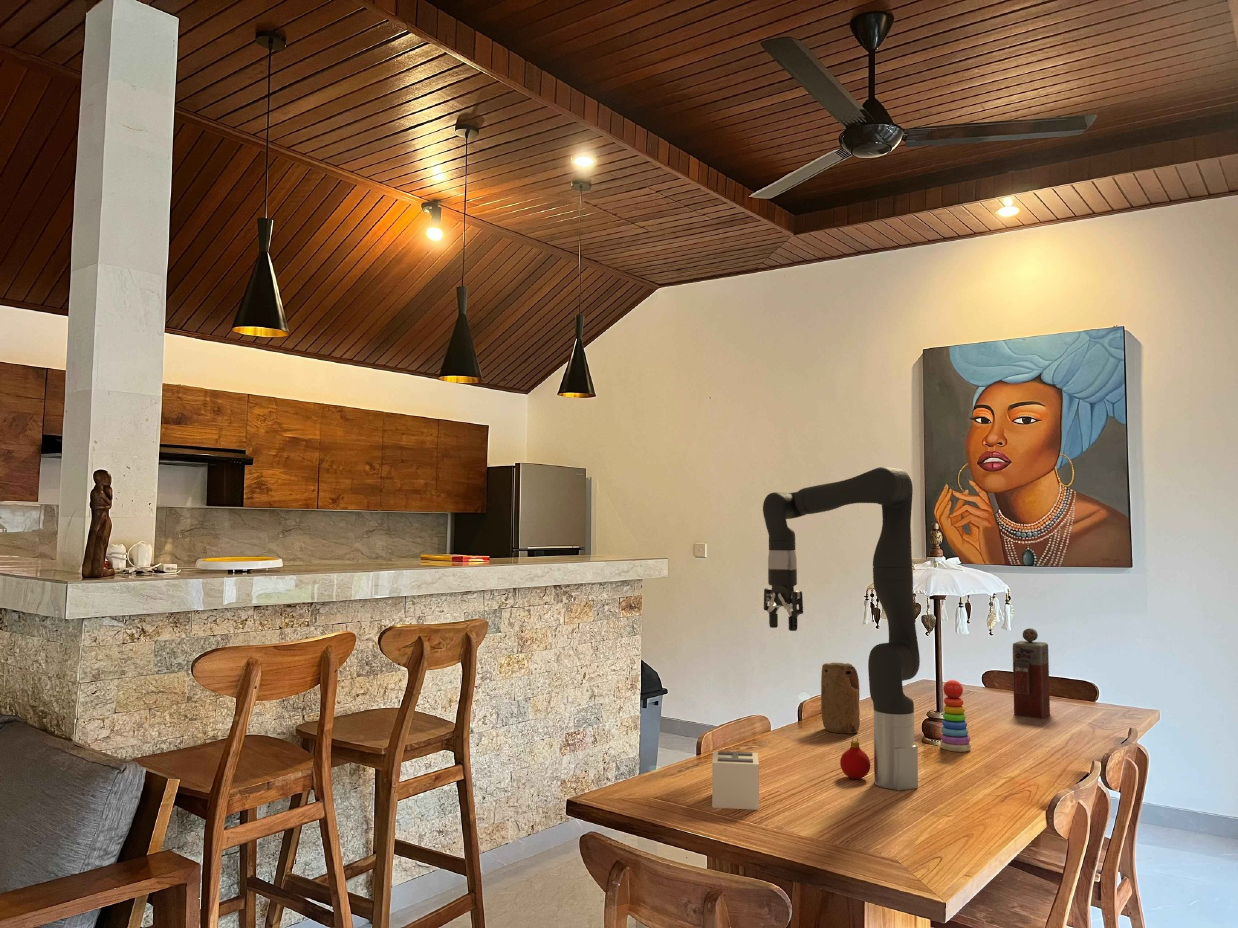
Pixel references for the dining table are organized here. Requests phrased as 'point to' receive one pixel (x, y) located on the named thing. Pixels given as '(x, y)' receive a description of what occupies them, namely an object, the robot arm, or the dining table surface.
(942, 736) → the stacking toy
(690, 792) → the dining table surface
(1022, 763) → the dining table surface
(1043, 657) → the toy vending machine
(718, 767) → the plain beige cube
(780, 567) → the robot arm
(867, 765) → the christmas ornament
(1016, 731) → the dining table surface
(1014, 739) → the dining table surface
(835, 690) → the block
